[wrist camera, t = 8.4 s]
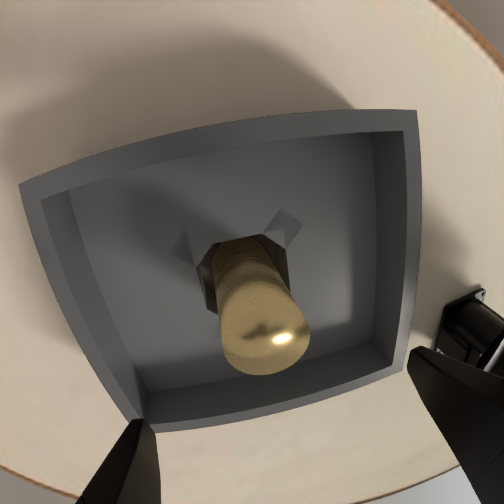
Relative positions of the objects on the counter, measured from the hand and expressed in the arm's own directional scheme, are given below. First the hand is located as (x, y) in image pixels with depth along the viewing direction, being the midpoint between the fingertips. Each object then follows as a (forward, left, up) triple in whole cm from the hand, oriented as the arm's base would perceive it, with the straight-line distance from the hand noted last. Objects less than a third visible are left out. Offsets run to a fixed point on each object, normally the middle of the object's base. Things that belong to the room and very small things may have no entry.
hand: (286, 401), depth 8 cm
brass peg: (0, 0, -11) cm, 11 cm away
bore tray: (0, 0, -11) cm, 11 cm away
